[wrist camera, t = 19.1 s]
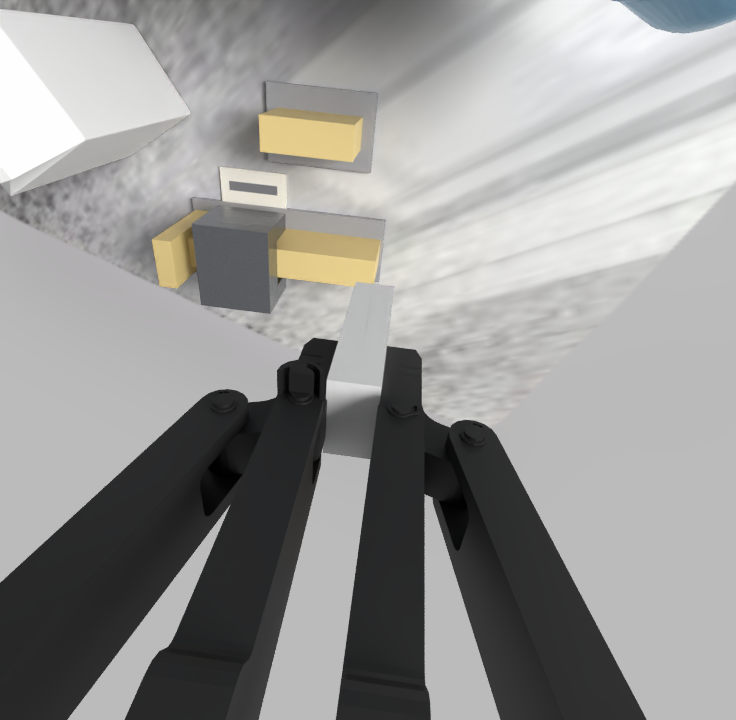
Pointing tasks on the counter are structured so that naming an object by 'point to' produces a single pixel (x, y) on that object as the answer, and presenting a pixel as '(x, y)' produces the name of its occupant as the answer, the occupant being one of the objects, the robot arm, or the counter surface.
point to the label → (253, 187)
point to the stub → (318, 126)
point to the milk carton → (76, 97)
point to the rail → (287, 246)
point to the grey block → (239, 258)
